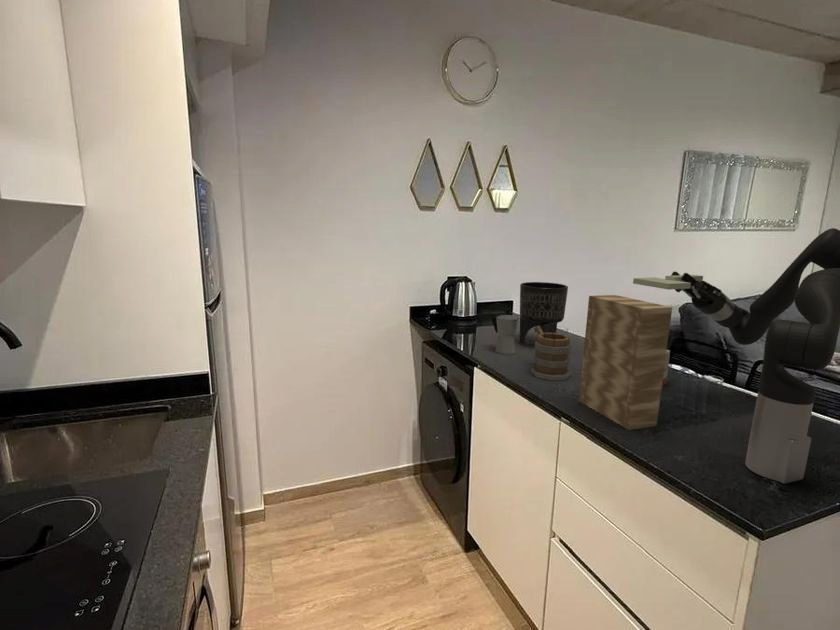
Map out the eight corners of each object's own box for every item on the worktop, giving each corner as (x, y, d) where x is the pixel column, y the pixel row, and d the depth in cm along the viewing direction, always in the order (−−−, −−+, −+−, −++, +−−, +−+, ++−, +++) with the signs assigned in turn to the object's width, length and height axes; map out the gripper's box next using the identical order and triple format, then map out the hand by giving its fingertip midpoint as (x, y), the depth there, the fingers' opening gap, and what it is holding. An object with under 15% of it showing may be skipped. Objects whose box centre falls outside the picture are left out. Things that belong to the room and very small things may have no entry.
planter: (539, 337, 210) (543, 281, 205) (572, 347, 194) (578, 286, 189) (507, 342, 200) (510, 283, 195) (539, 353, 184) (544, 289, 179)
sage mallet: (717, 287, 123) (718, 277, 122) (668, 289, 117) (669, 280, 117) (679, 281, 134) (680, 273, 133) (633, 283, 128) (633, 274, 128)
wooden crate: (656, 425, 120) (672, 307, 113) (629, 430, 117) (644, 308, 111) (603, 398, 138) (614, 294, 132) (579, 401, 135) (589, 295, 129)
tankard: (576, 380, 154) (580, 337, 151) (541, 381, 152) (544, 338, 149) (550, 362, 173) (553, 324, 170) (518, 363, 171) (521, 324, 168)
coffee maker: (524, 354, 183) (527, 310, 180) (508, 357, 178) (511, 312, 175) (498, 345, 195) (500, 304, 192) (483, 348, 191) (485, 306, 187)
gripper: (697, 288, 138) (663, 261, 132) (743, 295, 125) (708, 265, 119) (685, 310, 139) (651, 283, 132) (729, 319, 126) (694, 290, 119)
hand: (678, 275), depth 125 cm, fingers closed on sage mallet, 3 cm apart
